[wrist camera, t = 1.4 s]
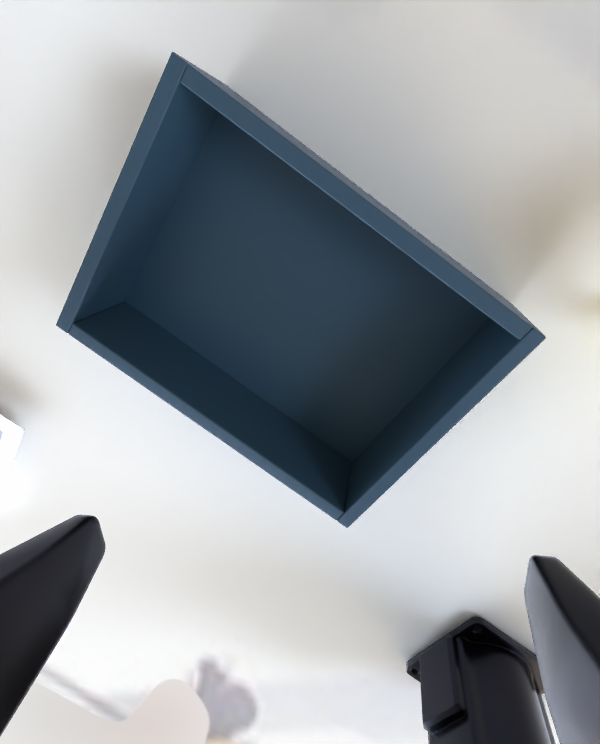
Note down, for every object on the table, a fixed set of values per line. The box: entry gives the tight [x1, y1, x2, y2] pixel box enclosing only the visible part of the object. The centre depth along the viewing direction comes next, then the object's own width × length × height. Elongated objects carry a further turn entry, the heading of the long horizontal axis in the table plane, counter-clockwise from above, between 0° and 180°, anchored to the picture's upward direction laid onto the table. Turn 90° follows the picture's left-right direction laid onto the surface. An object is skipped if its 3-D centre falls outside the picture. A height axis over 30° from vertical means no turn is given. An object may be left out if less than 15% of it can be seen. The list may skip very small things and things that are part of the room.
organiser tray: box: [56, 52, 546, 528], centre depth 19 cm, size 15×11×5 cm
